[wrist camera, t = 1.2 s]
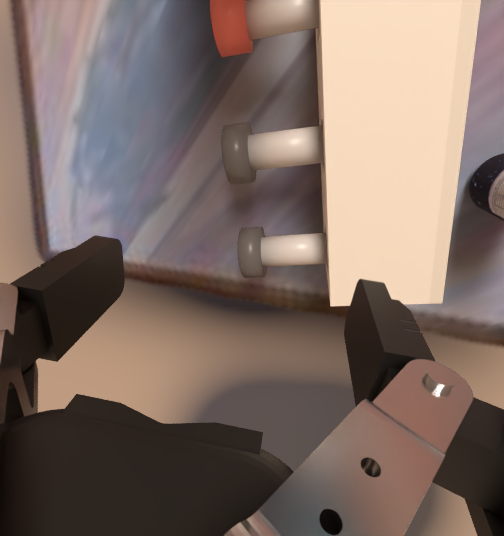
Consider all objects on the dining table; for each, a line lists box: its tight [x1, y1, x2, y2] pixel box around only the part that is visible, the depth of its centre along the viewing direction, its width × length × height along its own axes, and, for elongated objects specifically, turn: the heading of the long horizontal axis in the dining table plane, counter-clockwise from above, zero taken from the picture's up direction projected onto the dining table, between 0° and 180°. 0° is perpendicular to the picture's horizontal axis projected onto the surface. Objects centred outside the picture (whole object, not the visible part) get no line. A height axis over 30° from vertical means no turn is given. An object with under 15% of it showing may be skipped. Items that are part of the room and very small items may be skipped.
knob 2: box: [238, 227, 328, 278], centre depth 33 cm, size 9×5×5 cm, turn 97°
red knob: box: [210, 0, 320, 57], centre depth 25 cm, size 9×4×4 cm, turn 97°
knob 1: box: [221, 122, 324, 184], centre depth 29 cm, size 9×5×5 cm, turn 97°
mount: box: [316, 0, 481, 306], centre depth 28 cm, size 9×26×12 cm, turn 7°
